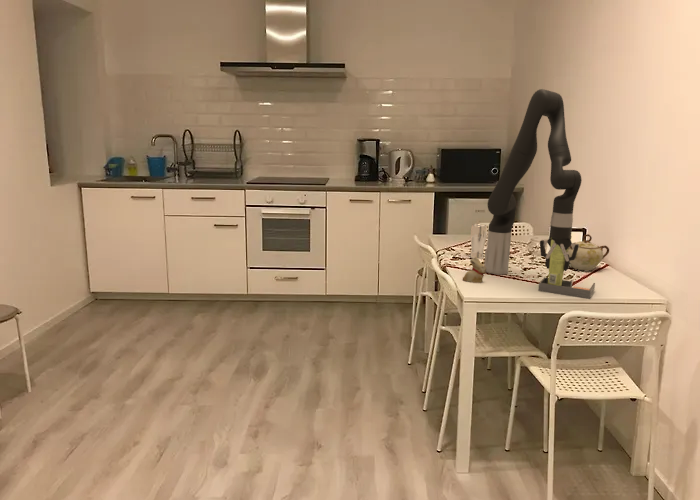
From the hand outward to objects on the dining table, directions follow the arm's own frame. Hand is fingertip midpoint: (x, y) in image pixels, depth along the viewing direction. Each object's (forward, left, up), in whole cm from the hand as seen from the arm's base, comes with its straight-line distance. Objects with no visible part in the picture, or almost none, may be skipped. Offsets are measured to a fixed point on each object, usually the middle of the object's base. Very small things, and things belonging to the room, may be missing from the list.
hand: (556, 269), depth 223 cm
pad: (+9, +5, -8) cm, 13 cm away
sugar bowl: (+4, +42, -8) cm, 43 cm away
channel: (+4, +1, -8) cm, 9 cm away
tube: (0, 0, -7) cm, 7 cm away
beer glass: (-41, +35, -8) cm, 55 cm away
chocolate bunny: (-30, -5, -8) cm, 31 cm away
